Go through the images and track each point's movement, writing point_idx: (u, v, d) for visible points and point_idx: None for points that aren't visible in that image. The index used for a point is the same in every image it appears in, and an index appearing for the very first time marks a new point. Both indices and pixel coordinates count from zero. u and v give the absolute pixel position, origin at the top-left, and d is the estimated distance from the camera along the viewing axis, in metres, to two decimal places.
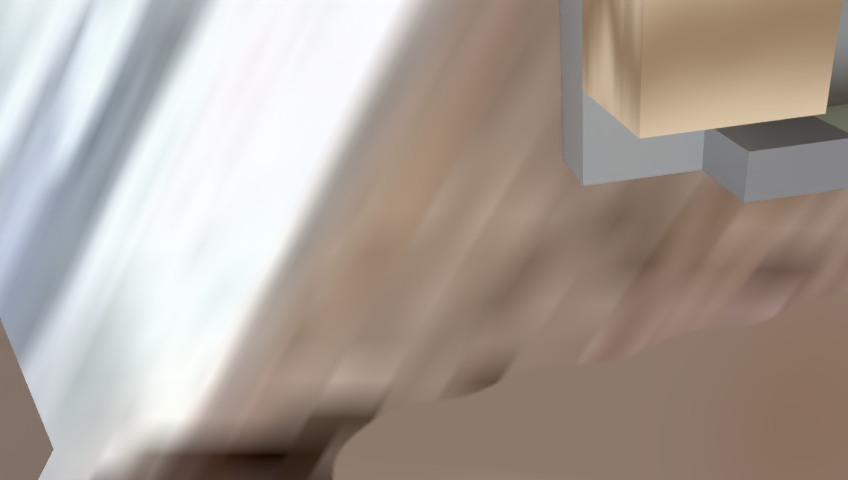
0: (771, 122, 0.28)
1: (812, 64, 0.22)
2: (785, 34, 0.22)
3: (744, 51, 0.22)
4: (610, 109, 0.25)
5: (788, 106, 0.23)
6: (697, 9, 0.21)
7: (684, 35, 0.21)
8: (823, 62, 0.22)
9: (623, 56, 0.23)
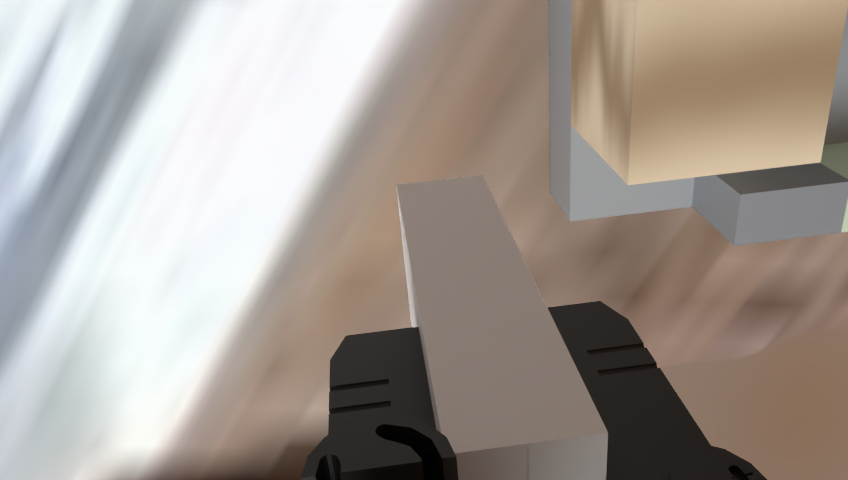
0: None
1: (808, 112, 0.21)
2: (781, 82, 0.21)
3: (738, 98, 0.21)
4: (598, 149, 0.24)
5: (782, 154, 0.22)
6: (690, 55, 0.20)
7: (676, 81, 0.20)
8: (819, 110, 0.21)
9: (612, 98, 0.22)
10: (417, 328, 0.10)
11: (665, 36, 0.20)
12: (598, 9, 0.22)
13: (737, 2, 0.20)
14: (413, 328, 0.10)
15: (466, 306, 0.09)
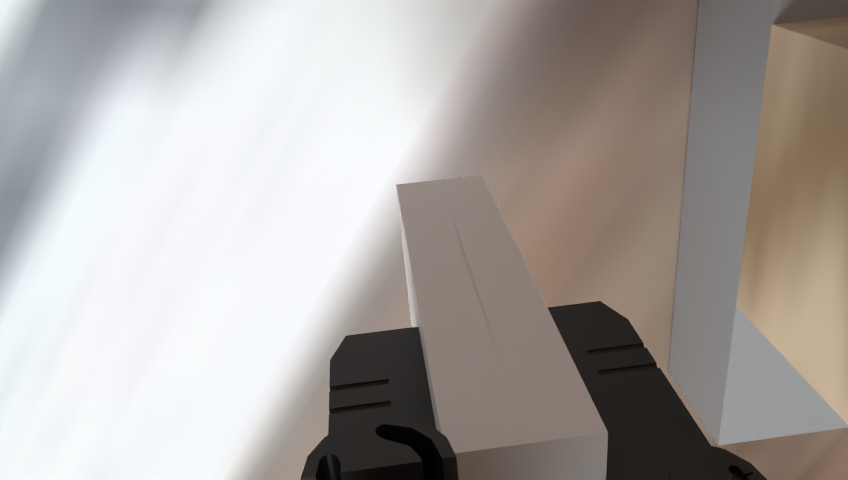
0: None
1: None
2: None
3: None
4: (824, 391, 0.13)
5: None
6: None
7: None
8: None
9: None
10: (417, 328, 0.10)
11: None
12: None
13: None
14: (413, 328, 0.10)
15: (466, 306, 0.09)
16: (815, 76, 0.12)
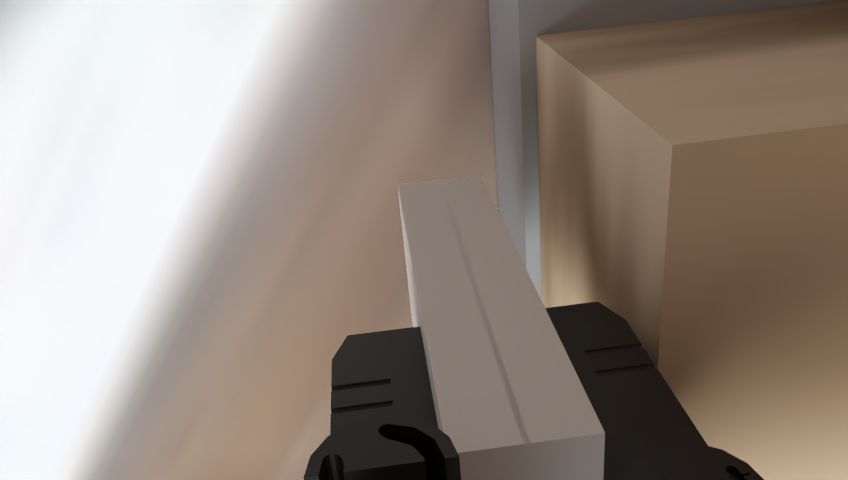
0: None
1: None
2: None
3: None
4: None
5: None
6: (790, 309, 0.09)
7: (755, 362, 0.09)
8: None
9: None
10: (419, 328, 0.10)
11: (735, 275, 0.08)
12: (581, 164, 0.11)
13: None
14: (415, 328, 0.10)
15: (464, 306, 0.09)
16: (558, 90, 0.12)
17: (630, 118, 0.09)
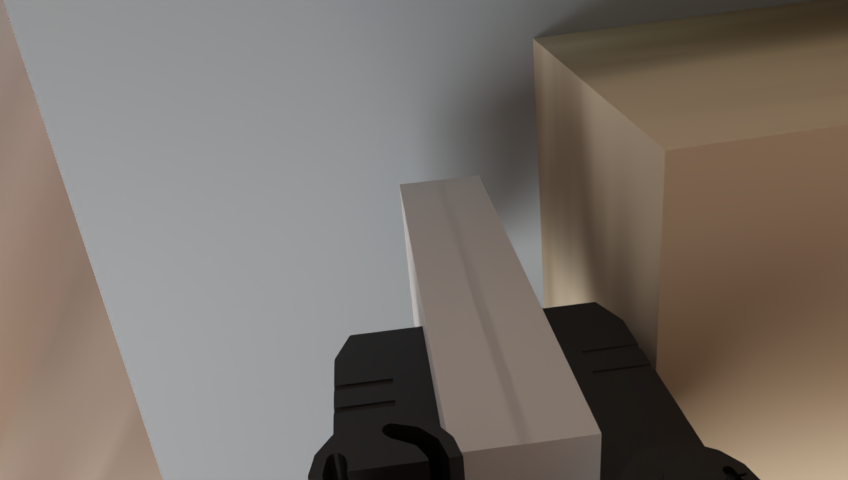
0: None
1: None
2: None
3: None
4: None
5: None
6: (788, 311, 0.09)
7: (754, 364, 0.09)
8: None
9: None
10: (421, 328, 0.10)
11: (732, 278, 0.08)
12: (579, 167, 0.11)
13: None
14: (417, 328, 0.10)
15: (461, 307, 0.09)
16: (555, 93, 0.12)
17: (625, 123, 0.09)
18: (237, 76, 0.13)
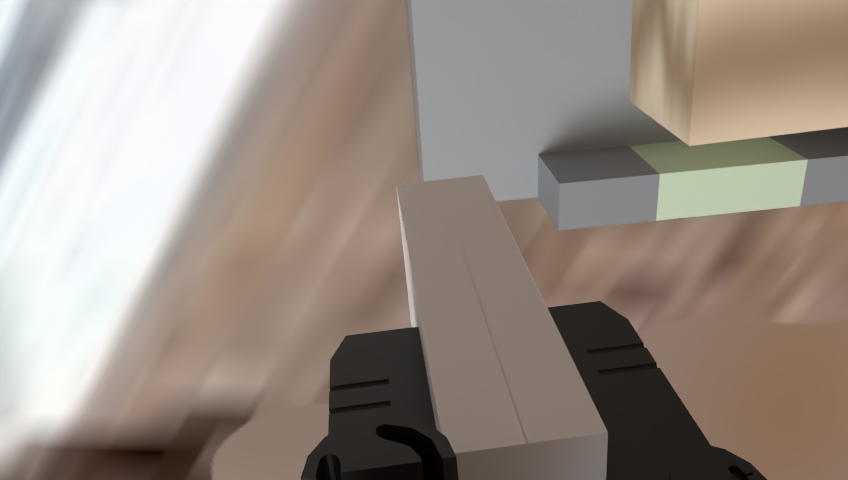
0: (595, 156, 0.31)
1: (845, 81, 0.25)
2: (822, 55, 0.24)
3: (784, 70, 0.24)
4: (658, 119, 0.28)
5: (822, 119, 0.25)
6: (745, 32, 0.24)
7: (732, 55, 0.24)
8: None
9: (674, 72, 0.26)
10: (417, 328, 0.10)
11: (724, 16, 0.23)
12: None
13: None
14: (413, 328, 0.10)
15: (466, 306, 0.09)
16: None
17: None
18: None
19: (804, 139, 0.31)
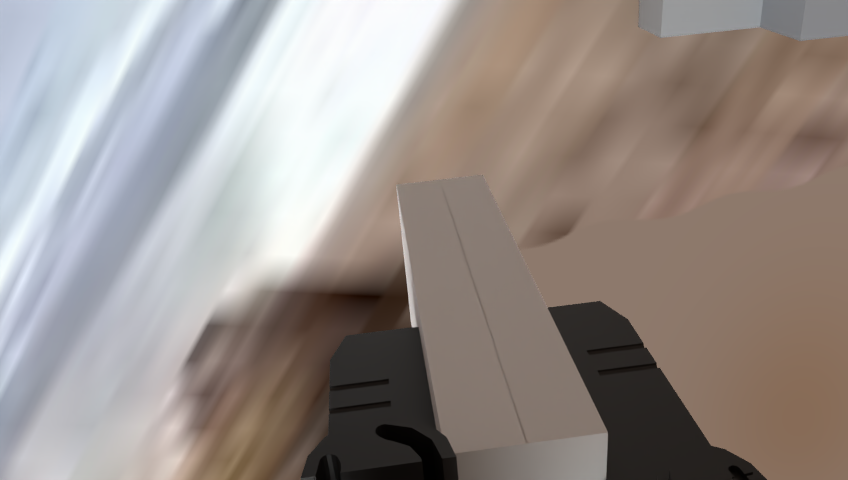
0: None
1: None
2: None
3: None
4: None
5: None
6: None
7: None
8: None
9: None
10: (417, 328, 0.10)
11: None
12: None
13: None
14: (413, 328, 0.10)
15: (466, 306, 0.09)
16: None
17: None
18: None
19: None
